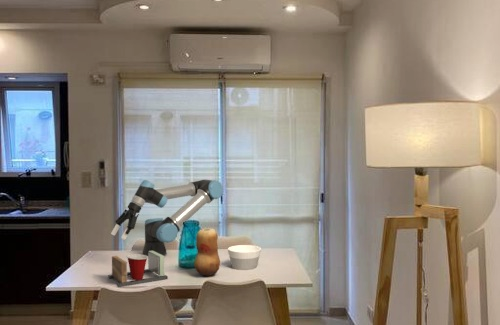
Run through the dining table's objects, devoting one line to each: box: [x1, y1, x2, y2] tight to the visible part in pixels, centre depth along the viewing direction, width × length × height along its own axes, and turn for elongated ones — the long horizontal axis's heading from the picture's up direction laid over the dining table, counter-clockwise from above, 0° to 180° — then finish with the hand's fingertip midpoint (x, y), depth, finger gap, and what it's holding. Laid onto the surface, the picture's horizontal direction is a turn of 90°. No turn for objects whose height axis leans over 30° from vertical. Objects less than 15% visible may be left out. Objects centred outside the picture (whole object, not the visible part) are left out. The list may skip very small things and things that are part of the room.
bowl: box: [227, 244, 262, 271], centre depth 268 cm, size 19×19×11 cm
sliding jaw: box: [147, 251, 165, 276], centre depth 250 cm, size 3×16×10 cm, turn 33°
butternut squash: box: [193, 227, 221, 277], centre depth 250 cm, size 14×13×25 cm
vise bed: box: [107, 255, 169, 288], centre depth 245 cm, size 25×19×12 cm
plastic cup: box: [126, 253, 148, 281], centre depth 245 cm, size 11×11×12 cm
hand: (117, 236), depth 271 cm, fingers open, 13 cm apart
